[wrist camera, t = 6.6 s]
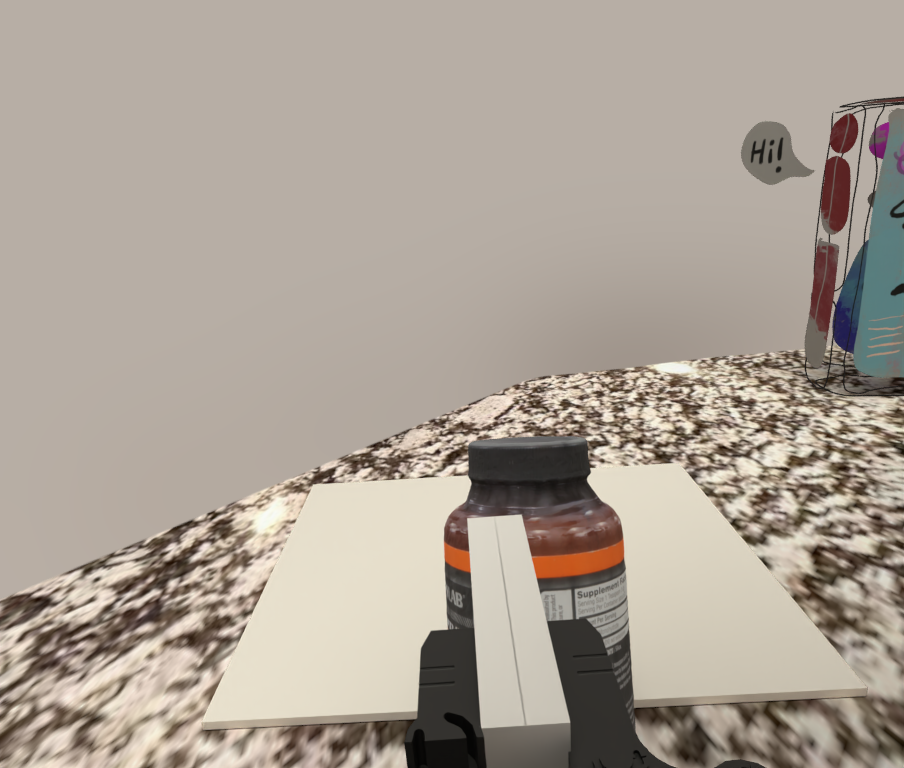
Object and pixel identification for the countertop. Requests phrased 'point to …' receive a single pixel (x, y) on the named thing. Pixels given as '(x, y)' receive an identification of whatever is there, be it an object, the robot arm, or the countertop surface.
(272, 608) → the mat
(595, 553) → the supplement bottle
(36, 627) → the countertop surface
